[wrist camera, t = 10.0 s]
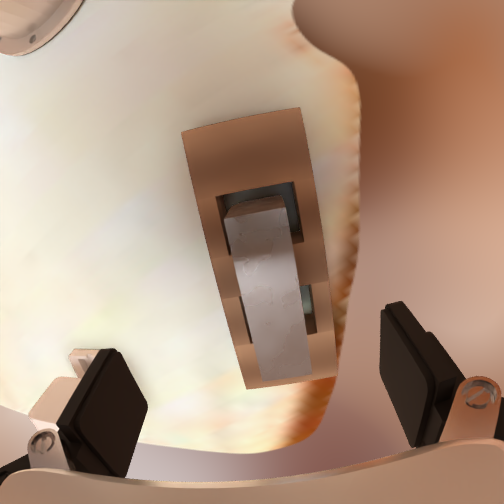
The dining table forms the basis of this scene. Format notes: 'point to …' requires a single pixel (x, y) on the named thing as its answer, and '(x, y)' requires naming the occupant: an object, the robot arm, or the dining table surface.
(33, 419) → the security camera
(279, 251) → the grey rectangular block
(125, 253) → the dining table surface
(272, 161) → the wooden frame
